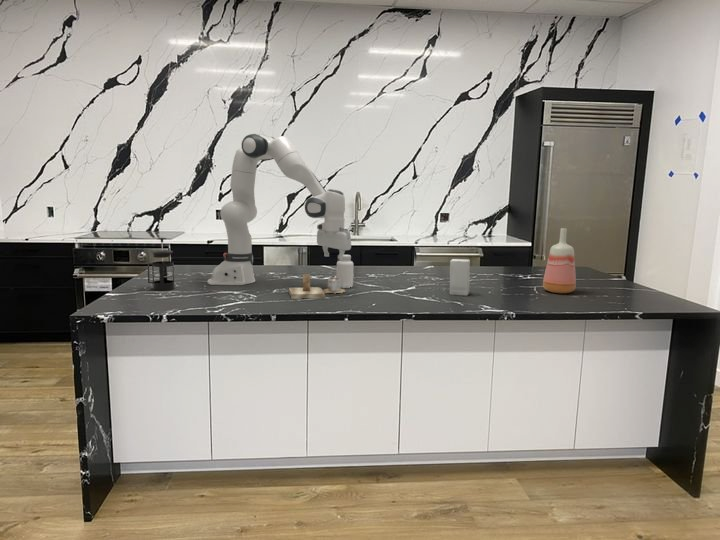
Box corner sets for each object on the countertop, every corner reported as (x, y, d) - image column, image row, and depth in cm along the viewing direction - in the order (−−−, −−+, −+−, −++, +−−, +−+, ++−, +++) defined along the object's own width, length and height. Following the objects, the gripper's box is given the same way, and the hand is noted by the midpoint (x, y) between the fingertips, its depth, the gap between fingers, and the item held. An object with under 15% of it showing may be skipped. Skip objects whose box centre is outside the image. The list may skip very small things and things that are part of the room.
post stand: (291, 298, 230) (291, 277, 229) (288, 292, 244) (288, 272, 242) (324, 298, 233) (324, 277, 232) (320, 291, 246) (320, 271, 245)
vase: (561, 288, 265) (566, 226, 260) (582, 294, 252) (587, 229, 247) (535, 289, 260) (540, 227, 256) (555, 295, 247) (560, 229, 242)
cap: (325, 290, 247) (325, 277, 246) (334, 288, 251) (334, 276, 250) (333, 292, 243) (334, 279, 242) (342, 290, 247) (343, 278, 246)
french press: (177, 286, 251) (176, 236, 248) (174, 290, 242) (173, 238, 238) (150, 287, 249) (148, 236, 245) (146, 291, 240) (144, 239, 236)
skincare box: (469, 293, 248) (471, 259, 246) (467, 296, 242) (469, 261, 240) (450, 292, 251) (452, 258, 249) (448, 294, 245) (449, 260, 242)
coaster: (324, 294, 241) (324, 292, 241) (321, 289, 251) (321, 288, 250) (346, 293, 243) (346, 292, 243) (342, 289, 253) (342, 287, 253)
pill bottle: (351, 288, 254) (351, 256, 252) (334, 287, 256) (334, 255, 253) (354, 285, 262) (355, 254, 260) (338, 284, 263) (338, 253, 261)
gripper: (355, 228, 237) (354, 260, 239) (325, 224, 251) (324, 254, 254) (344, 229, 232) (342, 261, 235) (314, 225, 247) (313, 255, 250)
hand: (333, 257), depth 244 cm, fingers open, 8 cm apart
